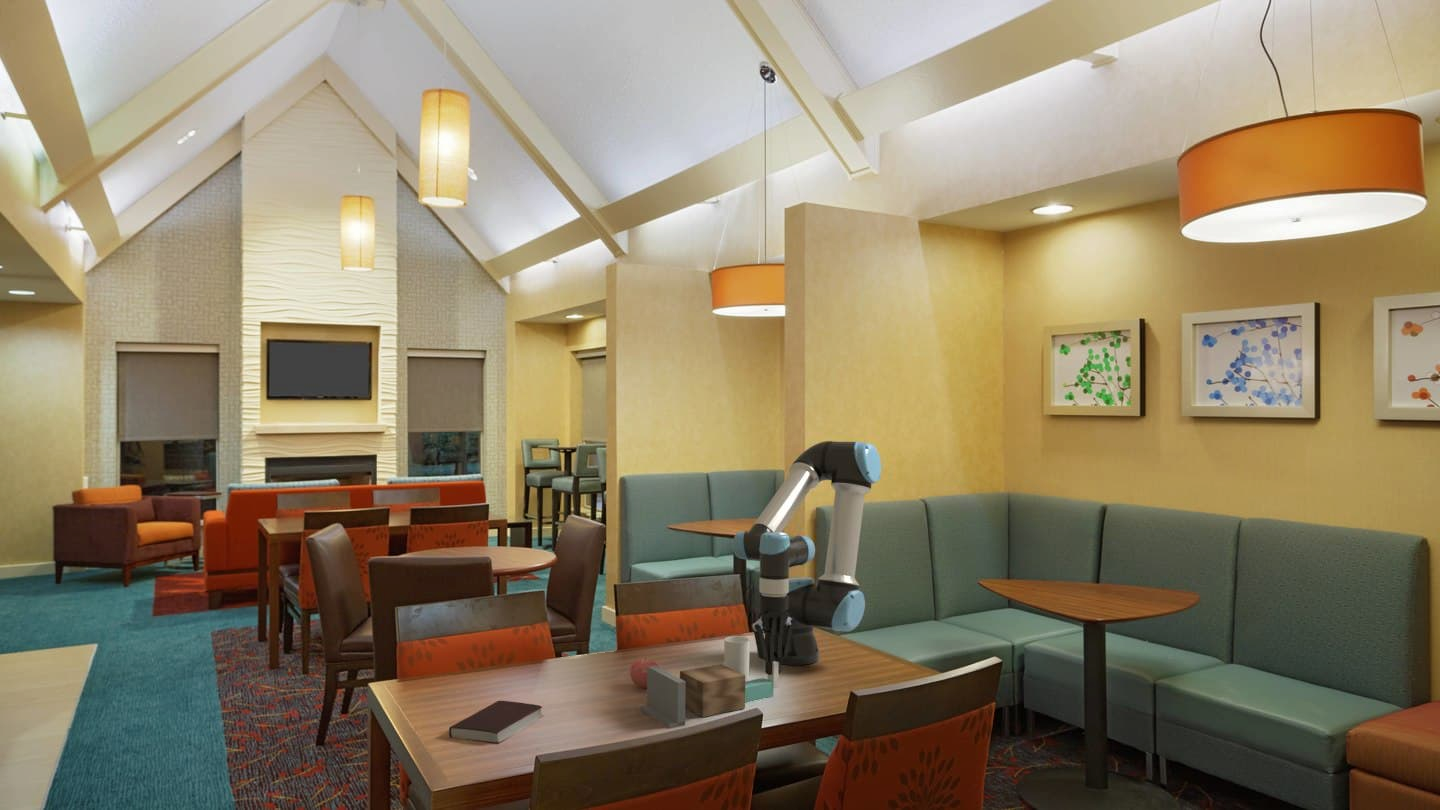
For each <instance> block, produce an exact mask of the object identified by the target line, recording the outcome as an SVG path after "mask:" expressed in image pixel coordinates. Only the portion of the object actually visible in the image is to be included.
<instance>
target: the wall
mask: <svg viewBox="0 0 1440 810" xmlns="http://www.w3.org/2000/svg"><path fill="white" fill-rule="evenodd" d="M685 686H686V681H684V680H682V679H680V677H678V676H676V675H674V674H672V673H670V672H668V671H667V670H665V669H662V668H661V667H659V666H658V667H657V666H655V665H654V666H648V667H647V688H646V704H643V705H641V704H640V705H639V710H640V711H642V712H643V713H644V714H646V715H648V716H649V717H651V718H653V719H654V720H656V721H658V722H659V723H661V724H662V725H664V726H665V727H667V728H669V729H671V728H672V729H673V728H677V727H682V726H683V727H684V726H686V707H685Z"/></svg>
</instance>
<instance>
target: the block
mask: <svg viewBox="0 0 1440 810" xmlns="http://www.w3.org/2000/svg"><path fill="white" fill-rule="evenodd" d="M679 678H680V679H682V680H684V681H686V686H685V709H688V710H690V711H691V712H694V713H695V714H696V715H699V716H700V717H702V718H703V717H708V716H709V717H710V716H715V715H719V714H724V713H729V712H733V711H738V710H742V709H743V710H744V709H745V708H746V704H745V675H744V674H742V673H739V672H737V671H735V670H733V669H731V668H728V667H726V666H725V664H724V665H723V664H722V663H718V664H713V665H709V666H708V665H707V666H703V667H701V666H700V667H696V668H690V669H683V670H680V671H679Z"/></svg>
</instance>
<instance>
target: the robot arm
mask: <svg viewBox="0 0 1440 810" xmlns="http://www.w3.org/2000/svg"><path fill="white" fill-rule="evenodd" d="M881 461H882V460H881V457H880V454H879V452H878V449H877V448H876V446H874V445H873V444H872V443H871V442H870V443H869V442H860V441H832V440H826V441H821V442H818V443H816V444H813V445H812V446H810V447H809V448H807V449H806V450H804V451H803V452H802V453H801V454H800V455H798V457H797V458H796V459H795V460H794V461H793V463H792V464H791V465H790V467H789V469H788V470H789V471H788V472H789V473H788V476H787V477H786V478H785V480H784V481H783V483H782V484H781V486H780V487H779V488H778V489H777V491H776V492H775V493H774V495H773V497H772V498H771V499H770V501H769V502H768V504H767V505H766V506H765V508H764V510H763V511H762V513H761V514H760V515H759V516H758V518H757V519H756V521H755V522H754V524H753V525H752V526H751V528H750V529H749V530H748V531H747V530H743V531H739V532H737V533H736V534H735V535H734V537H733V539H732V546H731V547H732V551H733V553H734V555H735V557H736V558H738V559H741V560H746V561H755V562H759V586H758V587H759V590H758V592H759V593H760V594H759V596H758V609H759V611H760V612H759V615H758V620H756V621H755V622H751V623H750V628H751V629H752V631H753V635H754V640H755V644H756V651H757V656H758V659H759V660H762V661H764V662H765V666H764V667H765V668H764V669H765V674H766V675H767V678H766V679H768V680H771V681H773V689H776V688H779V674H781V666H782V665H788V666H803V665H805V666H806V665H809V664H810V665H811V664H814V663H817V662H818V661H819V660H820V649H819V646H818V643H817V640H816V636H815V633H814V627H817V628H821V629H826V630H833V631H835V632H851V631H853V630H854V629H856V628H857V626H858V625H859V624H860V623H861V621H862V619H863V616H864V612H865V608H866V601H865V596H864V594H863V592H862V591H860V590H859V589H860V584H859V582H858V581H857V580H856V578H855V576H856V569H857V561H858V554H859V553H858V552H859V544H860V536H861V528H862V521H863V513H864V512H863V511H864V504H865V496H866V495H867V494H868V493H870V492H871V490H872V485H873V484H875V483H877V482H879V480H880V478H881V475H882V462H881ZM822 481H830V486H831V487H832V489H833V490H834V498H833V499H834V500H833V506H832V514H831V520H830V521H831V523H830V528H829V529H830V530H829V537H828V544H827V553H826V560H825V568H824V573H823V574H822V575H821V576H820V577H818V580H817V584H815V580H814V578H812V577H793V578H790V575H789V574H790V568H792V567H799V566H803V565H805V564H808V563H809V562H811V561H812V560H814V557H815V554H816V547H815V543H814V542H813V540H812V539H811V538H810V537H808V536H806V535H794V536H789V534H788V533H786V532H783V531H784V529H785V527H786V526H787V524H788V523H789V521H790V520H791V518H792V517H793V516H794V515H795V513H796V511H797V510H798V508H799V507H800V505H801V504H802V502H803V500H804V499H805V498H806V497H807V495H808V494H809V492H810V491H811V490H812V489H814V488H816V487H817V486H818V485H819V484H820V482H822ZM781 664H782V665H781Z"/></svg>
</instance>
